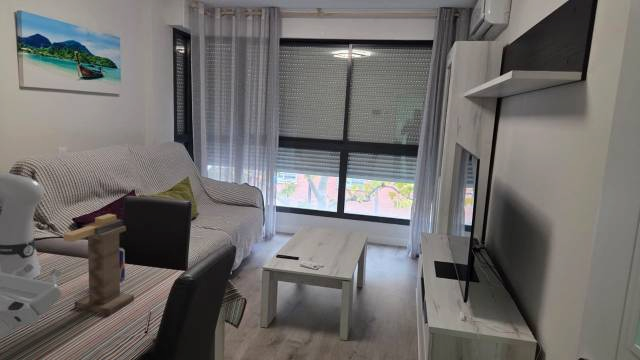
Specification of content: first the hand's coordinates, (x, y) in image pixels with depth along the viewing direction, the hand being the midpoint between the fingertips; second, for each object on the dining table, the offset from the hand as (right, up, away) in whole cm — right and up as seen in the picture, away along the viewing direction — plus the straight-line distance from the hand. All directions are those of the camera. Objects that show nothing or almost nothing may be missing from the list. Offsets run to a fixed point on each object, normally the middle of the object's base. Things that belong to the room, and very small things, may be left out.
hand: (44, 268), depth 113 cm
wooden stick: (+5, +8, +16) cm, 18 cm away
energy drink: (-2, -14, +44) cm, 46 cm away
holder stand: (+4, -18, +25) cm, 31 cm away
